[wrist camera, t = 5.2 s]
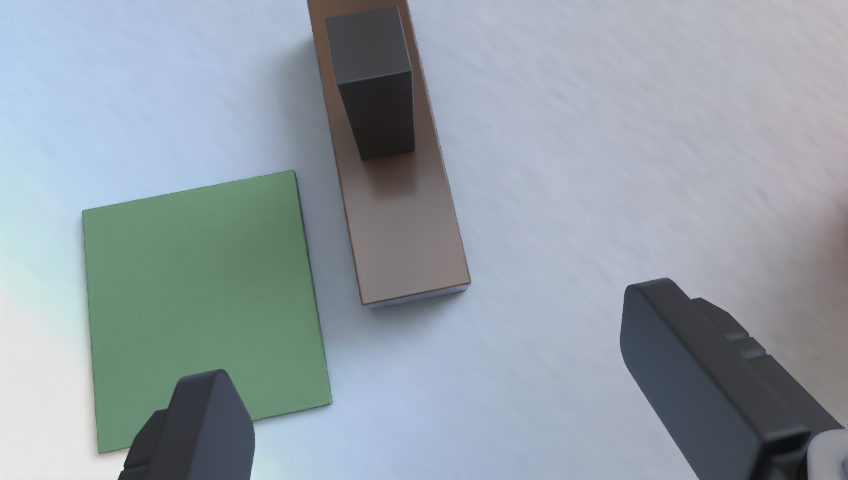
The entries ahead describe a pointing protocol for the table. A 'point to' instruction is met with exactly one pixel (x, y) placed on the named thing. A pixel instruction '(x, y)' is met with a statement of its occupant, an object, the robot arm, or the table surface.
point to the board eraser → (387, 153)
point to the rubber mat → (202, 301)
